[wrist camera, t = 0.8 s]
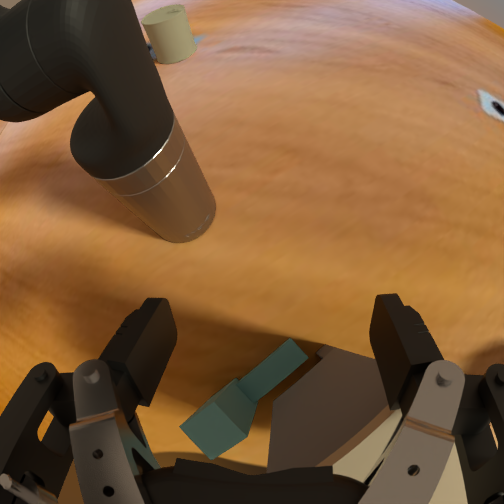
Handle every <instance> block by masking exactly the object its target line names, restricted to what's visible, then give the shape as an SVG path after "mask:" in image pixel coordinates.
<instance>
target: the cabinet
mask: <svg viewBox="0 0 504 504" xmlns="http://www.w3.org/2000/svg"><path fill="white" fill-rule="evenodd" d="M316 354H317V355H318V356H319V357H320V358H321V359H322V360H321V361H320V362H319V363H317V364H316V365H315V366H314V367H313V368H312V369H311V370H310V371H309V372H307V373H306V374H305V375H304V376H303V377H302V378H300V379H299V380H298V381H297V382H296V383H295V384H293V385H292V386H291V387H290V388H289V389H287V390H286V391H285V392H284V393H283V394H281V395H280V396H279V397H278V398H276V399H275V400H274V401H273V410H272V422H271V433H270V444H269V454H268V464H267V473H271V472H276V471H281V470H286V469H290V468H301V467H320V466H332V465H333V474H339V475H343V476H348V477H351V478H353V479H356V480H358V481H360V482H363V480H364V479H365V478H366V476H367V475H368V473H369V472H370V470H371V469H372V467H373V466H374V464H375V463H376V461H377V460H378V458H379V457H380V455H381V453H382V452H383V450H384V448H385V446H386V445H387V443H388V441H389V439H390V437H391V435H392V434H393V432H394V430H395V428H396V426H397V424H398V422H399V420H400V418H401V416H402V412H401V409H397V410H391V411H390V409H389V405H388V401H387V397H386V394H385V390H384V386H383V383H382V379H381V376H380V372H379V369H378V366H377V362H376V359H373V358H369V357H366V356H362V355H359V354H355V353H352V352H349V351H345V350H342V349H339V348H335V347H332V346H329V345H326V344H325V345H324V346H323V347H321V348H320V349H319V350H318V351H317V352H316ZM429 504H468V503H467V497H466V491H465V485H464V480H463V475H462V471H461V466H460V462H459V457H458V453H457V449H456V446H455V442H454V445H453V448H452V450H451V453H450V456H449V459H448V461H447V464H446V466H445V469H444V471H443V474H442V476H441V478H440V481H439V483H438V485H437V487H436V490H435V492H434V494H433V496H432V498H431V500H430V502H429Z"/></svg>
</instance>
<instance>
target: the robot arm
mask: <svg viewBox="0 0 504 504" xmlns="http://www.w3.org/2000/svg"><path fill="white" fill-rule="evenodd" d="M89 91H91V92H92V93H93V94H94V95H95V98H94V99H93V100H92V101H91V102H90V103H89V104H88V105H87V106H86V108H85V109H84V110H83V111H82V113H81V114H80V116H79V117H78V119H77V121H76V123H75V125H74V128H73V130H72V134H71V139H70V148H71V153H72V155H73V157H74V159H75V160H76V162H77V163H78V164H79V165H80V166H81V167H82V168H83V169H84V170H85V171H86V172H88V173H89V174H90V175H91V176H92V177H93V178H94V179H95V180H96V181H97V182H99V183H100V184H101V185H102V186H103V187H104V188H105V189H106V190H108V191H109V192H110V193H111V194H112V195H113V196H114V197H116V198H117V199H118V200H119V201H120V202H121V203H122V204H123V205H125V206H126V207H127V208H128V209H129V210H130V211H132V212H133V213H134V214H135V215H136V216H137V217H138V218H140V219H141V220H142V221H143V222H144V223H145V224H147V225H148V226H149V227H150V228H151V229H152V230H154V231H155V232H156V233H157V234H159V235H160V236H161V237H162V238H163V239H165V240H167V241H169V242H174V243H185V242H189V241H192V240H194V239H196V238H198V237H199V236H200V235H202V234H203V233H204V232H205V231H206V230H207V229H208V228H209V226H210V225H211V223H212V221H213V218H214V216H215V210H216V204H215V199H214V196H213V194H212V192H211V190H210V188H209V186H208V184H207V181H206V179H205V177H204V175H203V173H202V171H201V169H200V167H199V164H198V162H197V160H196V158H195V156H194V154H193V152H192V150H191V148H190V145H189V143H188V141H187V139H186V137H185V135H184V133H183V131H182V129H181V127H180V125H179V123H178V120H177V118H176V116H175V114H174V112H173V110H172V107H171V105H170V103H169V101H168V99H167V96H166V93H165V90H164V87H163V84H162V82H161V79H160V76H159V73H158V71H157V68H156V66H155V64H154V62H153V59H152V57H151V55H150V52H149V49H148V47H147V44H146V41H145V39H144V36H143V33H142V30H141V27H140V24H139V21H138V18H137V15H136V12H135V9H134V6H133V4H132V1H131V0H21V1H20V2H18V3H17V4H16V5H15V6H14V7H12V8H11V9H7V8H5V7H3V6H1V5H0V120H3V121H8V122H22V121H27V120H31V119H34V118H37V117H39V116H41V115H43V114H45V113H47V112H49V111H51V110H53V109H54V108H56V107H58V106H60V105H62V104H64V103H66V102H68V101H70V100H72V99H74V98H76V97H78V96H80V95H82V94H84V93H86V92H89ZM428 331H429V330H428V329H427V327H426V325H424V321H423V320H422V318H421V316H420V314H419V313H418V312H417V311H415V310H414V309H413V308H412V307H410V306H404V305H403V303H402V301H401V299H400V298H399V296H398V294H396V293H395V294H381V295H377V296H376V299H375V304H374V309H373V314H372V319H371V324H370V331H369V336H370V343H371V346H372V349H373V353H374V356H375V359H376V362H377V366H378V369H379V372H380V376H381V379H382V383H383V386H384V390H385V394H386V397H387V401H388V405H389V409H390V411H391V410H397V409H401V412H402V416H401V418H400V420H399V422H398V424H397V426H396V428H395V430H394V432H393V434H392V435H391V437H390V439H389V441H388V443H387V445H386V446H385V448H384V450H383V452H382V453H381V455H380V457H379V458H378V460H377V461H376V463H375V464H374V466H373V467H372V469H371V470H370V472H369V473H368V475H367V476H366V478H365V479H364V480H363V482H360V481H358V480H356V479H353V478H351V477H348V476H343V475H339V474H333V465H332V466H320V467H301V468H290V469H286V470H281V471H276V472H271V473H266V474H260V475H246V474H243V473H239V472H236V471H233V470H230V469H227V468H224V467H221V466H218V465H215V464H212V463H204V462H198V461H191V460H185V459H180V458H177V459H176V463H175V466H170V467H163V468H161V467H160V465H159V464H158V462H157V461H156V459H155V457H154V456H153V454H152V452H151V450H150V447H149V445H148V442H147V439H146V437H145V434H144V432H143V429H142V426H141V423H140V421H139V418H138V415H137V413H136V411H135V410H136V408H137V406H138V405H142V406H147V407H149V406H150V404H151V401H152V399H153V396H154V394H155V392H156V389H157V387H158V384H159V382H160V380H161V377H162V375H163V372H164V370H165V368H166V365H167V363H168V361H169V358H170V356H171V354H172V352H173V349H174V347H175V345H176V341H177V329H176V325H175V322H174V319H173V315H172V312H171V308H170V305H169V302H168V300H167V299H166V298H147V299H146V300H145V301H144V303H143V304H142V306H141V307H140V309H139V310H137V309H136V310H135V311H134V312H132V313H131V314H130V315H128V316H127V317H126V318H125V320H124V321H123V323H122V324H121V327H119V328H118V330H117V331H116V335H114V336H113V337H112V339H111V340H110V342H109V343H108V345H107V346H106V348H105V349H104V351H103V352H102V354H101V355H100V357H99V358H98V359H93V360H88V361H86V362H84V363H82V364H81V365H79V366H78V367H77V369H76V370H75V372H72V373H59V372H58V371H57V369H56V368H55V366H54V365H53V364H52V363H49V362H43V363H40V364H38V365H36V366H35V367H33V368H32V369H31V370H30V372H29V373H28V374H27V376H26V377H25V379H24V380H23V382H22V383H21V385H20V386H19V388H18V389H17V391H16V392H15V394H14V395H13V397H12V398H11V400H10V401H9V403H8V405H7V406H6V408H5V409H4V411H3V413H2V414H1V416H0V504H58V500H57V499H58V497H59V494H60V491H61V489H62V486H63V483H64V480H65V478H66V476H67V473H68V471H69V468H70V466H71V463H72V461H73V459H74V463H75V467H76V473H77V477H78V481H79V485H80V489H81V493H82V497H83V500H84V504H429V502H430V500H431V498H432V496H433V494H434V492H435V490H436V487H437V485H438V483H439V481H440V478H441V476H442V474H443V471H444V469H445V466H446V464H447V461H448V459H449V456H450V453H451V450H452V448H453V445H454V442H455V446H456V449H457V453H458V457H459V462H460V466H461V471H462V475H463V480H464V485H465V491H466V497H467V503H468V504H504V365H503V364H494V365H492V366H490V367H489V368H488V370H487V371H486V373H485V374H484V375H466V374H464V373H463V371H462V370H461V368H460V367H459V366H457V365H456V364H455V363H453V362H450V361H447V360H444V359H443V357H442V355H441V353H440V351H439V349H438V347H437V345H436V343H435V341H434V339H433V338H432V336H431V334H430V333H429V332H428ZM48 410H49V412H50V413H51V414H52V415H53V416H54V418H53V420H52V422H51V424H50V425H49V427H48V429H47V431H46V433H45V435H44V437H43V439H42V441H40V440H39V439H38V435H37V431H38V428H39V426H40V424H41V422H42V420H43V418H44V417H45V415H46V413H47V411H48ZM490 422H491V423H492V426H493V429H494V432H495V435H496V438H497V441H498V450H497V447H496V444H495V440H494V437H493V434H492V431H491V429H490V426H489V423H490Z"/></svg>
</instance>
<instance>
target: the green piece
mask: <svg viewBox="0 0 504 504" xmlns="http://www.w3.org/2000/svg"><path fill="white" fill-rule="evenodd" d="M308 358H309V357H308V356H307V355H306V354H305V353H304V352H303V351H302V350H301V349H300V348H299V347H298V346H297V344H296V343H295V342H294V341H293V340H292V339H291V338H289V339H288V340H286V341H285V342H284V343H283V344H282V345H281V346H280V347H278V348H277V349H276V350H275V351H274V352H273V353H272V354H270V355H269V356H268V357H267V358H266V359H265V360H263V361H262V362H261V363H260V364H259V365H257V366H256V367H255V368H254V369H253V370H251V371H250V372H249V373H248V374H246V375H245V376H244V377H243V378H241V379H240V380H238V379H237V378H235V379H234V380H232V381H231V382H230V383H229V384H227V385H226V386H225V387H224V388H222V389H221V390H220V391H218V392H217V393H216V394H214V395H213V396H212V397H211V398H210V399H209V400H208V401H207V402H205V403H204V404H203V405H202V406H201V407H200V408H199V409H198V410H197V411H196V412H195V413H194V414H193V415H191V416H190V417H189V418H188V419H187V420H186V421H185V422H184V423H183V424H182V425H180V426H179V427H180V428H181V429H182V430H183V432H184V433H185V434H186V435H187V436H188V437H189V438H190V439H191V440H192V441H193V442H194V443H195V444H196V445H197V446H198V447H199V449H200V450H201V451H202V452H203V453H204V454H205V455H206V456H207V457H209V459H211V460H213V459H214V458H216V457H218V456H219V455H221V454H222V453H224V452H225V451H227V450H229V449H230V448H232V447H233V446H235V445H236V444H238V443H239V442H241V441H242V440H244V439H245V438H246V437H248V434H249V430H250V427H251V424H252V421H253V417H254V414H255V411H256V407H257V404H258V400H259V399H260V398H262V397H263V396H264V395H265V394H267V393H268V392H269V391H270V390H272V389H273V388H274V387H275V386H277V385H278V384H279V383H280V382H281V381H283V380H284V379H285V378H286V377H287V376H288V375H290V374H291V373H292V372H293V371H294V370H295V369H297V368H298V367H299V366H300V365H301V364H302V363H303V362H305V361H306V360H307V359H308Z"/></svg>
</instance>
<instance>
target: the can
mask: <svg viewBox="0 0 504 504" xmlns="http://www.w3.org/2000/svg"><path fill="white" fill-rule="evenodd" d="M141 23H142V25H143V27H144V29H145V31H146V33H147V35H148V38H149V40H150V42H151V45H152V47H153V49H154V52H155V54H156V57H157V61H158V62H159V63H162V64H172V63H176V62H179V61H182V60H184V59H186V58H188V57H189V56H191V55H192V54H193V53H194V52H195V51H196V48H197V46H196V44H195V42H194V39H193V35H192V32H191V29H190V26H189V22H188V19H187V15H186V12H185V7H184V6H183V5H169V6H165V7H162V8H159V9H157V10H155V11H153V12H151V13H149V14H148V15H146V16H145V17H144V18H143V19H142V21H141Z"/></svg>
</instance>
